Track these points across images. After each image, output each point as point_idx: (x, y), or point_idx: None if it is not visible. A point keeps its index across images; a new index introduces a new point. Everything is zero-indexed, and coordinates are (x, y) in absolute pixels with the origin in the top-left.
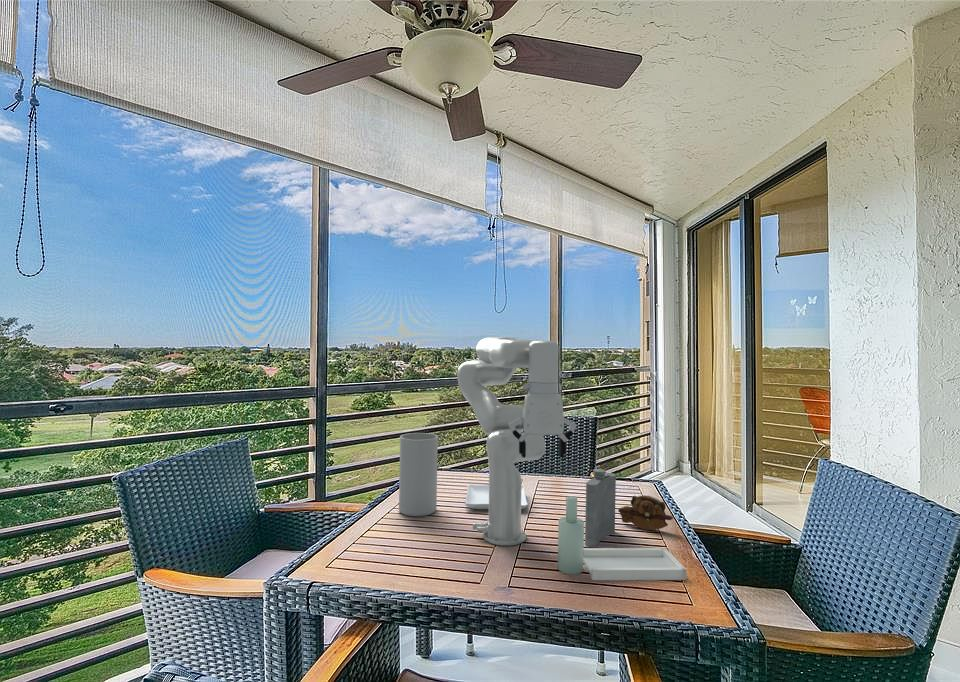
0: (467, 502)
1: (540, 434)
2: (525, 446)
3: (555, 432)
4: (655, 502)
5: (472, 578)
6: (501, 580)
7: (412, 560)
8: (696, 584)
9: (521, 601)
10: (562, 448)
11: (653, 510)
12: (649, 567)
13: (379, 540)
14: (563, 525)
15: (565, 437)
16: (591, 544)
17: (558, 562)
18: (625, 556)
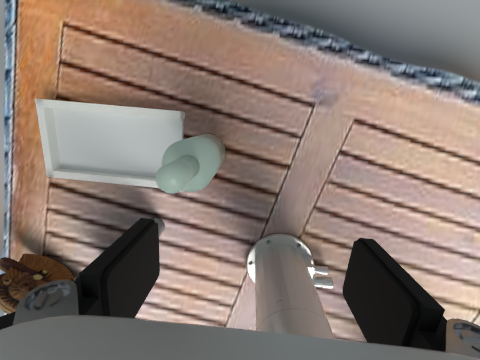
0: None
1: (321, 338)
2: (395, 281)
3: (91, 340)
4: (2, 290)
5: (361, 135)
6: (319, 125)
7: (437, 202)
8: (38, 84)
9: (307, 56)
10: (120, 245)
11: (20, 277)
12: (90, 134)
13: (472, 273)
14: (209, 150)
15: (26, 313)
16: (155, 219)
17: (224, 153)
18: (116, 173)
